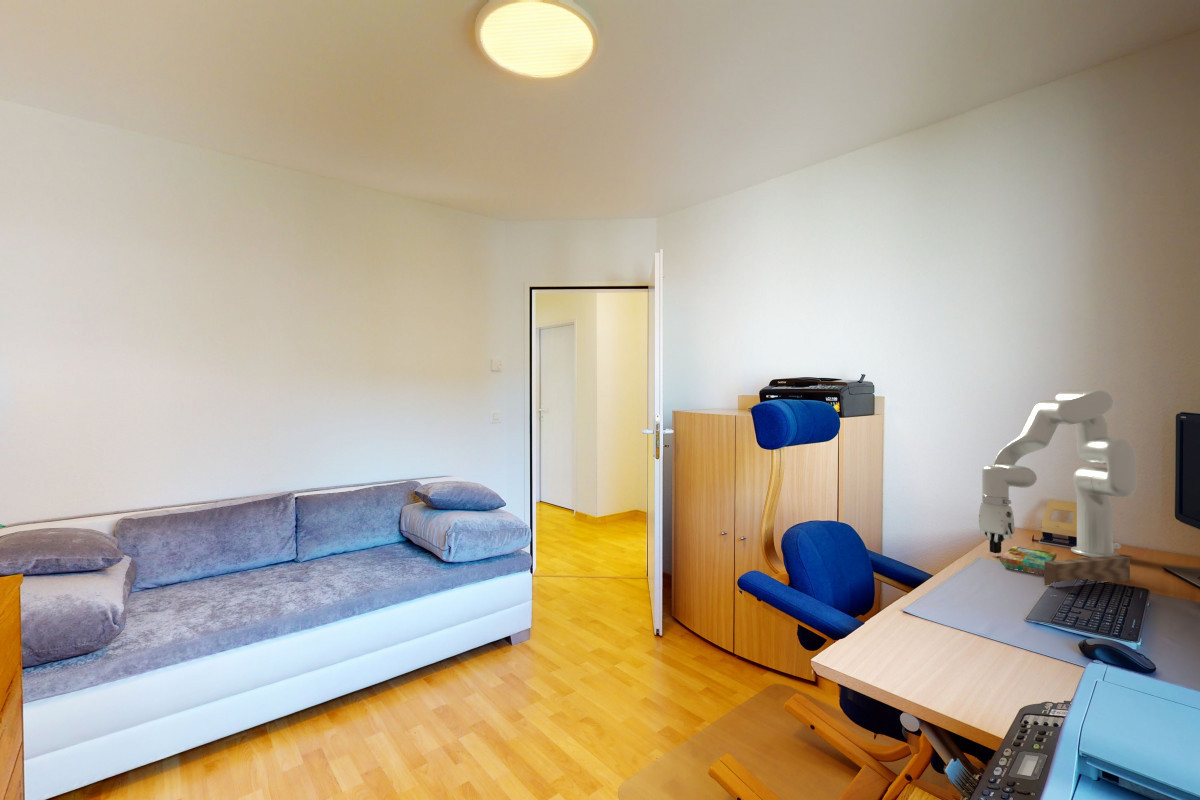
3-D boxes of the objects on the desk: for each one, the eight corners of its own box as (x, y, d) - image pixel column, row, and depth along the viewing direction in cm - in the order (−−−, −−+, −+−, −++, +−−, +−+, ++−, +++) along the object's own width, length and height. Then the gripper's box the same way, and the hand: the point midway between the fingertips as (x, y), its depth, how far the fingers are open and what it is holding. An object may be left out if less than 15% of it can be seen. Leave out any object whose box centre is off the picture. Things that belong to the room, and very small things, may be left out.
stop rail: (1118, 577, 164) (1118, 555, 164) (1129, 580, 161) (1129, 557, 161) (1044, 585, 156) (1044, 561, 156) (1055, 588, 153) (1055, 564, 153)
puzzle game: (1000, 554, 173) (1013, 543, 186) (1000, 568, 173) (1013, 557, 186) (1046, 562, 164) (1056, 550, 178) (1046, 577, 164) (1056, 564, 178)
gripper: (1025, 504, 180) (1025, 557, 180) (983, 496, 195) (984, 546, 195) (1007, 505, 178) (1008, 559, 178) (967, 497, 193) (967, 547, 193)
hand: (995, 552), depth 186 cm, fingers closed
